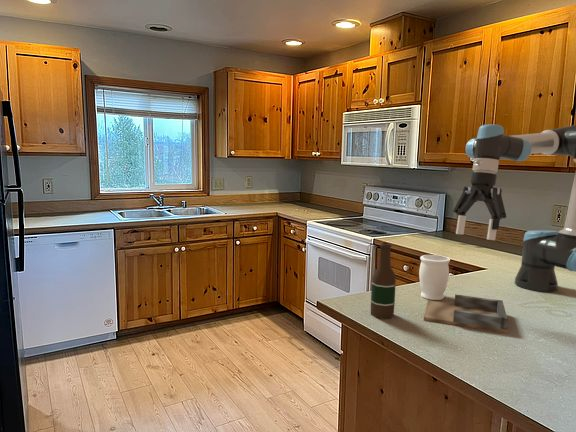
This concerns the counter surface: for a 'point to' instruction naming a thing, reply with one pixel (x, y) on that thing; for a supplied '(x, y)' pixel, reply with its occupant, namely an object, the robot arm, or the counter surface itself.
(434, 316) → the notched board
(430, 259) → the jar
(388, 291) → the beer bottle
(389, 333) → the counter surface
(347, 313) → the counter surface
